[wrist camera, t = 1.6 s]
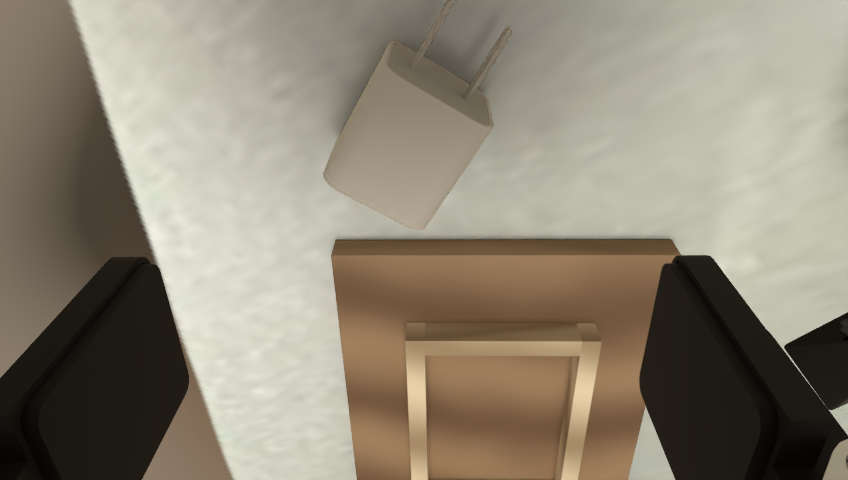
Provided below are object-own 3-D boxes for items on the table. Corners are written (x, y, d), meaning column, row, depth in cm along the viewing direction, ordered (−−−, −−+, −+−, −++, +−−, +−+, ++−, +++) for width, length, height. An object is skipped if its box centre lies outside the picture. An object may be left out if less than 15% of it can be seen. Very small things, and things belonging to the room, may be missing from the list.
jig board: (335, 240, 26) (326, 272, 23) (671, 239, 25) (691, 272, 23) (364, 508, 35) (360, 547, 33) (610, 511, 34) (621, 551, 32)
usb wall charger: (337, 136, 23) (319, 181, 20) (429, -33, 20) (426, -14, 17) (427, 185, 24) (425, 236, 21) (528, 30, 21) (544, 60, 18)
